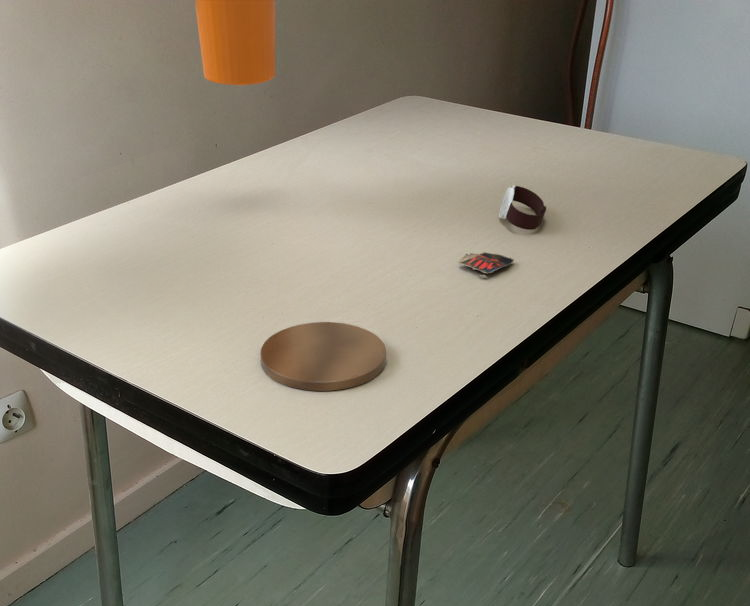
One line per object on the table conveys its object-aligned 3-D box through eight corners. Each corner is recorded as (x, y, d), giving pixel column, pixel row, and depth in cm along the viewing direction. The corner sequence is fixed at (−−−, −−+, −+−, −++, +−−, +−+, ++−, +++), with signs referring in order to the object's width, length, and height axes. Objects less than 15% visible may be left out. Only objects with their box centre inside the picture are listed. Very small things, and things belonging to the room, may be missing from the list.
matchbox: (516, 260, 96) (516, 255, 96) (494, 280, 92) (494, 275, 92) (471, 250, 98) (471, 246, 97) (448, 270, 94) (448, 265, 94)
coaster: (261, 393, 76) (260, 384, 76) (260, 332, 84) (260, 323, 84) (392, 388, 77) (392, 379, 76) (379, 328, 85) (380, 319, 84)
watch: (497, 206, 108) (500, 172, 105) (541, 207, 107) (545, 173, 105) (500, 234, 101) (503, 198, 99) (547, 235, 101) (551, 200, 99)
